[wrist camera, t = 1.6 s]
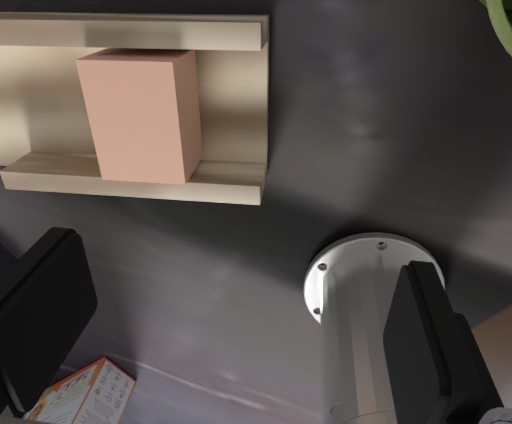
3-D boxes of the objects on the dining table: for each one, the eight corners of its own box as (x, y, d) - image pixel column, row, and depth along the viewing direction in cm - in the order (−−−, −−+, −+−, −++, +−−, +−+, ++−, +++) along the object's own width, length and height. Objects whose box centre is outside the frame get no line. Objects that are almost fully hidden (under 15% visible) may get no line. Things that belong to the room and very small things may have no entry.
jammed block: (202, 155, 31) (185, 184, 27) (130, 152, 32) (102, 179, 28) (194, 47, 27) (172, 62, 23) (111, 46, 28) (75, 59, 24)
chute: (267, 174, 33) (259, 205, 29) (-9, 159, 36) (-53, 185, 32) (269, 14, 27) (260, 22, 23) (-65, 11, 30) (-129, 17, 25)
